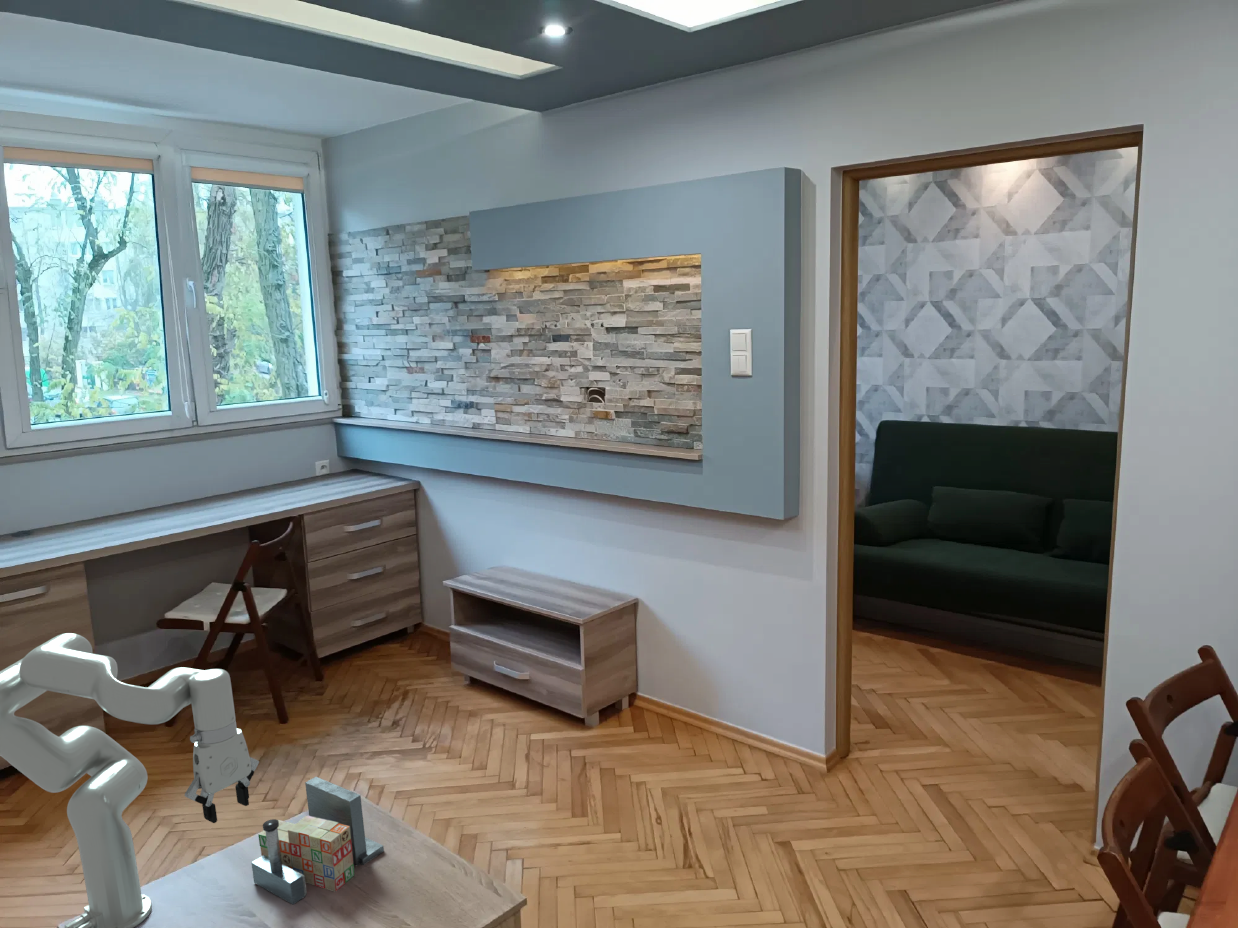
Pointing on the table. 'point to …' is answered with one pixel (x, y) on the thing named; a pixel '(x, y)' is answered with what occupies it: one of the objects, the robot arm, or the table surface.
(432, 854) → the table surface
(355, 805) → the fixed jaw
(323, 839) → the stack of blocks
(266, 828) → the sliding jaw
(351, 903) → the table surface
